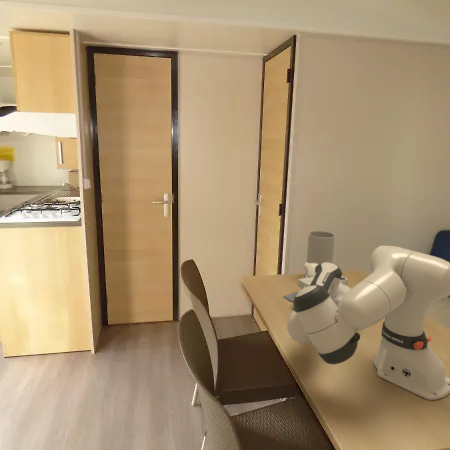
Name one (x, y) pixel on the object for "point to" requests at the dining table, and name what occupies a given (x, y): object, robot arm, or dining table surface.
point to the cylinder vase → (320, 247)
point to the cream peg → (310, 268)
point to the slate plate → (290, 296)
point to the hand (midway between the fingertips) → (312, 276)
